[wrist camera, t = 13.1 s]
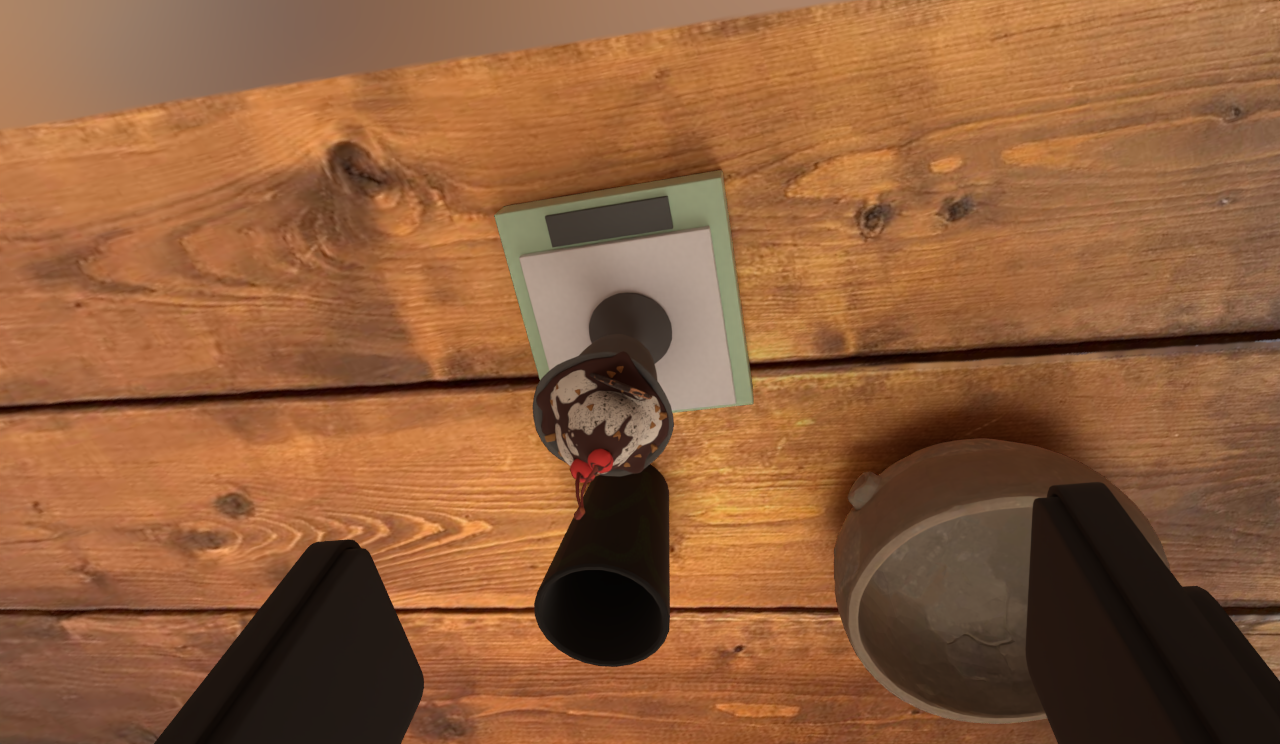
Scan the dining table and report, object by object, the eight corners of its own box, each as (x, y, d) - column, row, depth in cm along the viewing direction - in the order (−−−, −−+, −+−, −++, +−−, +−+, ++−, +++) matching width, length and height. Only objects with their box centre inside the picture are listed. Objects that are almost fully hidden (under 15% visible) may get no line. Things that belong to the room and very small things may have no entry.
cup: (564, 451, 51) (517, 571, 40) (672, 439, 49) (653, 559, 39) (590, 539, 54) (553, 671, 44) (693, 530, 53) (680, 664, 42)
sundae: (607, 397, 46) (553, 561, 32) (555, 304, 43) (473, 440, 30) (705, 359, 44) (690, 517, 30) (656, 260, 41) (616, 384, 28)
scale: (503, 206, 44) (490, 217, 41) (722, 169, 41) (721, 179, 39) (559, 410, 50) (550, 430, 47) (753, 389, 47) (753, 409, 45)
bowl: (781, 466, 49) (790, 568, 40) (1055, 353, 44) (1136, 444, 35) (886, 639, 55) (914, 762, 46) (1141, 559, 49) (1228, 683, 40)
